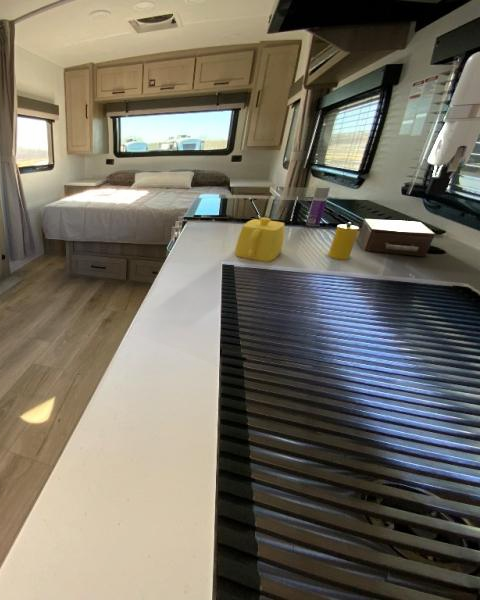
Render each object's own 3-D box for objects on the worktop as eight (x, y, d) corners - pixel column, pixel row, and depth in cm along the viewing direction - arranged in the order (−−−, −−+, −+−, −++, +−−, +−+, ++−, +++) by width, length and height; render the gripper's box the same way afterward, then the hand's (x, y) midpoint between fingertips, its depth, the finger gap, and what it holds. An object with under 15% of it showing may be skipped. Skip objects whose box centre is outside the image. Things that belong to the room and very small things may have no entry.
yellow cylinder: (346, 256, 104) (359, 221, 99) (349, 262, 100) (362, 225, 95) (327, 254, 106) (338, 219, 101) (328, 259, 102) (339, 223, 97)
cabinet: (424, 258, 100) (435, 233, 97) (363, 252, 107) (372, 229, 103) (410, 244, 111) (420, 222, 108) (356, 239, 118) (364, 218, 115)
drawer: (428, 260, 96) (437, 241, 93) (370, 254, 102) (377, 236, 99) (411, 243, 110) (419, 226, 107) (360, 239, 116) (366, 222, 113)
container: (321, 226, 135) (333, 187, 128) (310, 226, 135) (320, 188, 129) (314, 223, 139) (325, 186, 133) (303, 223, 140) (313, 186, 133)
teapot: (248, 242, 120) (255, 209, 115) (286, 248, 113) (295, 213, 107) (228, 257, 107) (234, 221, 102) (270, 265, 100) (279, 227, 94)
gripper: (435, 115, 85) (407, 189, 94) (458, 114, 74) (423, 198, 82) (477, 113, 82) (444, 190, 90) (507, 111, 70) (466, 200, 79)
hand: (434, 194), depth 86 cm, fingers closed
